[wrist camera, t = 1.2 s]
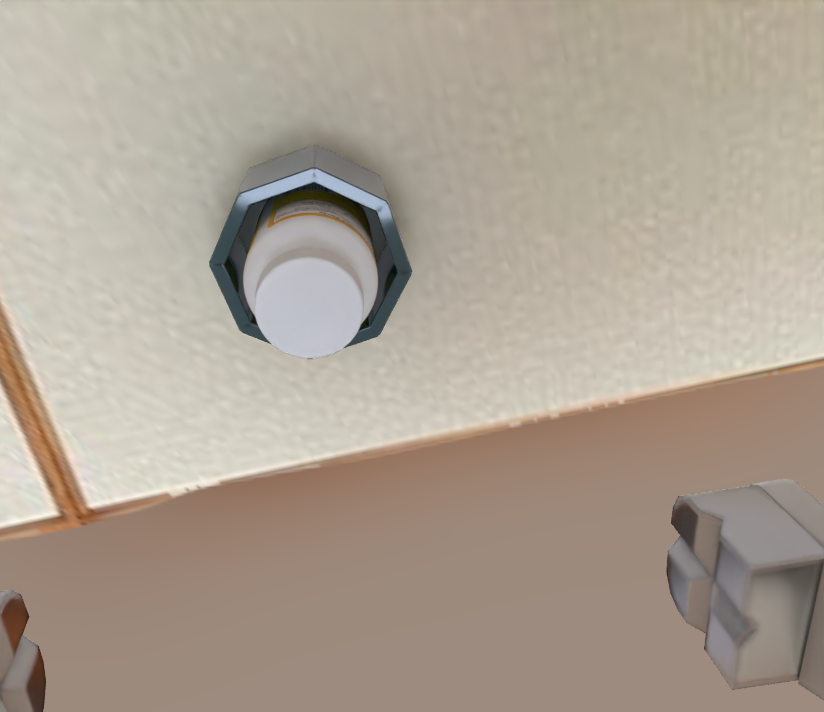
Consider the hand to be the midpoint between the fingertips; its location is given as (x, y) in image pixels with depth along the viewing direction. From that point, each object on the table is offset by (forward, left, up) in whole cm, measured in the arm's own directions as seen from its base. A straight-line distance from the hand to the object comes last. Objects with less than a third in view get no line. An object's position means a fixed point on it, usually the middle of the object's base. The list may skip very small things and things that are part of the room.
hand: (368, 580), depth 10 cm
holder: (+2, +3, -29) cm, 29 cm away
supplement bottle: (+2, +3, -29) cm, 29 cm away
